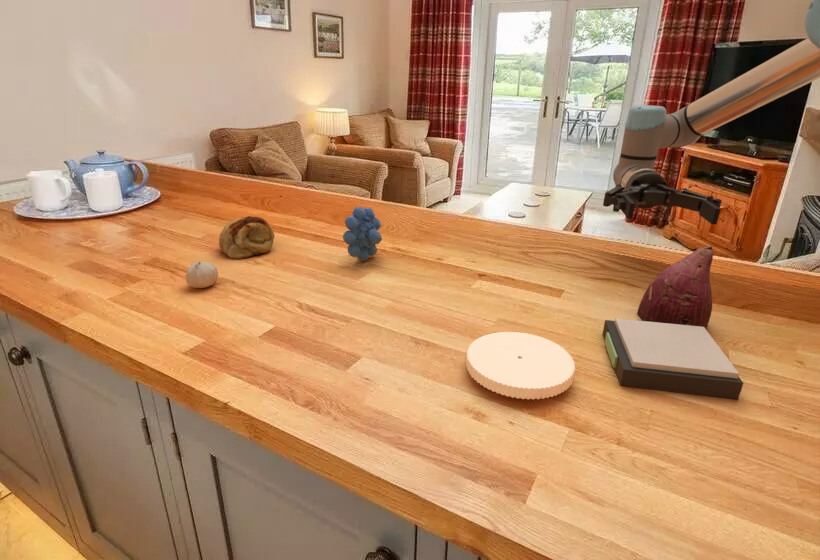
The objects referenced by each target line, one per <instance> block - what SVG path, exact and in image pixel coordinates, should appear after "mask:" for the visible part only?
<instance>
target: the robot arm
mask: <svg viewBox="0 0 820 560" xmlns="http://www.w3.org/2000/svg"><path fill="white" fill-rule="evenodd" d="M804 29H805V34H806V36H807V38H806V39H803V40H802V41H800V42H798V43H796V44H795V45H793V46H791V47H789V48H787V49H785V50H784V51H782V52H780V53H779V54H777V55H775V56H773V57H771V58H770V59H768V60H766V61H764V62H763V63H761V64H759V65H757V66H755V67H753V68H751V69H750V70H748V71H746V72H745V73H743V74H741V75H739V76H737V77H736V78H734V79H732V80H730V81H728V82H727V83H725V84H723V85H721V86H720V87H718V88H716V89H714V90H713V91H711V92H709V93H707V94H705V95H704V96H702V97H700V98H698V99H696V100H695V101H693V102H691V103H689V104H687V105H686V106H685V107H682V108H681V109H678V110H676V111H675V112H672V113H667V109H666V107H664V106H661V105H648V104H647V105H645V104H643V105H642V104H636V105H633V106H631V107H630V108H629V110H628V114H627V118H626V121H625V123H624V132H623V137H622V143H621V149H620V154H619V159H618V163H617V165H616V166H615V167H614V169H613V171H612V179H613V182H614V184H615V187H612V188H611V189H609V190H608V191H606V192H605V193H604V197H603V201H602V202H603V203H602V206H603V207H604V208H605V207H611V206H613V207H612V212H615V213H619V212H620V211H621V212H622V213H623V215H624V216H625V217H626V218H627V219H631V220H633V217H634V211H635V207H636V208H639V209H641V210H642V209H643V210H644V209H645V210H646V209H647V210H648V209H653V208H656V207H658V206H663V207H666V208H674V207H678V208H681V209H685V210H689V211H693V212H696V213H698V215H699V216H700V217H702V218H703V219H704V220H705V221H707V222H708V223H709V224H711V225H718V220H719V218H720V217H719V216H720V212H721V210H722V209H721V206H722V202H723V200H722V199H720V198H716V197H715V196H714V195H706V194H702V193H699V192H695V191H692V190H690V189H689V188H686V187H684V188H681V189H680V190H679V189H678V188H674V187H669V185H668V182H667V180H666V179H665V178H664V177H663V176H662V175H661V174H660V173H659V172H658V171H656V170H655V165H656V162H657V157H658V153H659V149H660V150H661V149H670V148H684V147H686V146H690V145H692V144H695V143H696V142H697V141H698V140H699V139H700V138H701V137H702V136H704V135H705V134H708V133H710V132H712V131H713V130H715V129H718V128H719V127H721V126H724V125H726V124H728V123H730V122H732V121H734V120H736V119H738V118H740V117H742V116H744V115H747V114H749V113H751V112H753V111H754V110H757V109H758V108H760V107H763V106H765V105H767V104H770V103H771V102H774V101H775V100H777V99H779V98H781V97H784V96H786V95H788V94H789V93H791V92H794V91H796V90H798V89H800V88H802V87H803V86H806V85H808V84H811V83H812V82H814V81H816V80H819V79H820V0H811V2H810V4H809V6H808V8H807V11H806V13H805V19H804Z"/></svg>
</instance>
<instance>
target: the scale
mask: <svg viewBox="0 0 820 560" xmlns="http://www.w3.org/2000/svg"><path fill="white" fill-rule="evenodd" d="M602 337H603V340H604V345H605V347H606V348H605V349H606V350H607V354H608V357H609V360H610V362H611V365H612V368H613V369H614V372H615V375H616V377H617V380H618V384H619V386H621V387H630V388H637V389H638V388H639V389H646V390H655V391H664V392H670V393H671V392H673V393H680V394H688V395H689V394H690V395H695V396H696V395H698V396H706V397H712V398H713V397H714V398H722V399H732V400H739V398H740V395H741V392H742V389H743V386H744V382H743V381H742V379H741V377H740V376H739V375H740V372H739V371H738V370H737V369H736V367H735V366H734V364H733V363H732V362H731V361H730V359H729V358H728V357H727V356H726V355H727V354H725V353H724V351H723V350H722V349H721V348H720V346H719V344H718V343H717V342H716V341H715V339H714V338H713V337H712V335H711V334H710V333H709V332H708V330H707V328H706V329H705V328H704V327H700V326H690V325H679V324H669V323H658V322H648V321H643V320H638V319H637V320H635V319H628V318H627V319H626V318H615V319H614V320H610V319H605V320H604V324H603V329H602Z"/></svg>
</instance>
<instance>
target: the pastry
mask: <svg viewBox="0 0 820 560" xmlns="http://www.w3.org/2000/svg"><path fill="white" fill-rule="evenodd" d="M221 230H222V231H220V233H219V237H218V246H219V250H220V251H221V252H222V253H223V254H225V255H226V257H228V258H229V259H234V260H239V259H247V258H251V257H253V256H255V255H261V254H266V253H268V252H271V250H272V247H273V244H274V239H275V232H274V230H273V228H272V227H271V225H270V224H269V223H268V221H267V220H266V219H264V218H262V217H260V216H251V215H248V216H241V217H238V218H234V219H232V220H230V221H228V222H227V223H226V224H225V225H224V227H223V228H222V229H221Z"/></svg>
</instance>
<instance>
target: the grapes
mask: <svg viewBox="0 0 820 560" xmlns="http://www.w3.org/2000/svg"><path fill="white" fill-rule="evenodd" d="M344 225H345V227H346V229H347V230H346V231H345V232H344V233H343V235H342V240H343V242H344V243H345V244H346V245H348V246H347V253H348V254H349V256H350V257H353V258H357V259H358V261H360V262H365V261H367V260H368V259H369V257H373V256H375V255H376V254H377V253H378V248H377V247H378V246H377V245H378V244H380V243H381V242H382V241H383V236H382V235H381V233H380V232H379V230H380V229H381V227H382V223H381V220H380V219H379V218H377V216H376V214H375V211H374V210H373V209H372V208H371V207H365V208H363V207H361V206H356V207H355V208H353V210H352V215H349V216H347V217H346V218H345V220H344Z"/></svg>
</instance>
